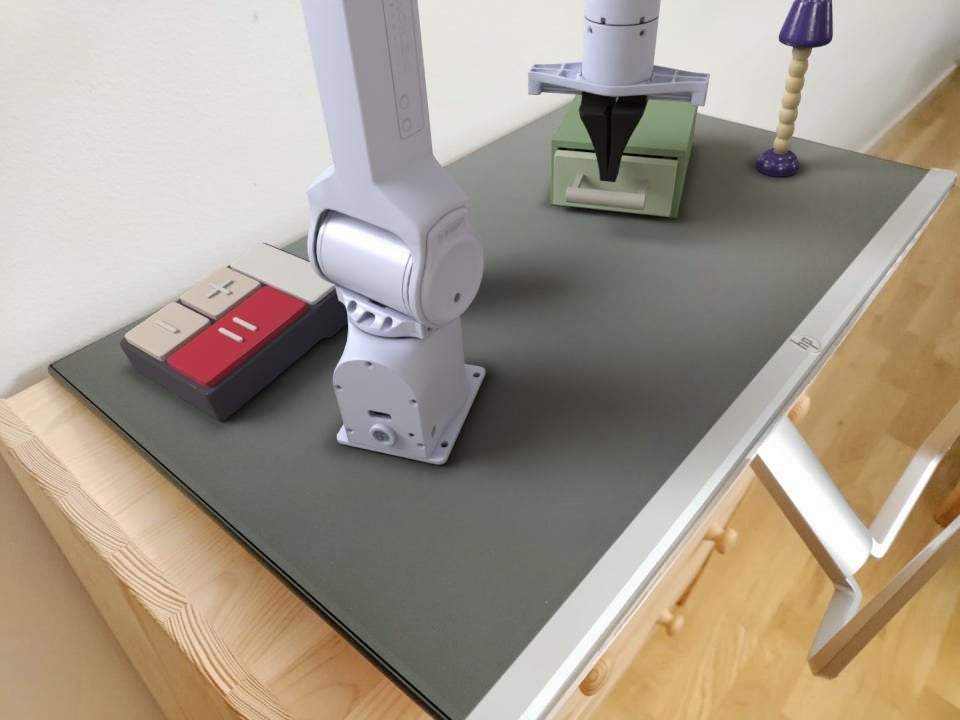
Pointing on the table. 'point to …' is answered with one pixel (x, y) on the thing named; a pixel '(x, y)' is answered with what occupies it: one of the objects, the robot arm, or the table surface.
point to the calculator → (236, 330)
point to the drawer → (615, 183)
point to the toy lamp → (796, 77)
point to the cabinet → (639, 138)
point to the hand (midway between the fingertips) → (609, 176)
